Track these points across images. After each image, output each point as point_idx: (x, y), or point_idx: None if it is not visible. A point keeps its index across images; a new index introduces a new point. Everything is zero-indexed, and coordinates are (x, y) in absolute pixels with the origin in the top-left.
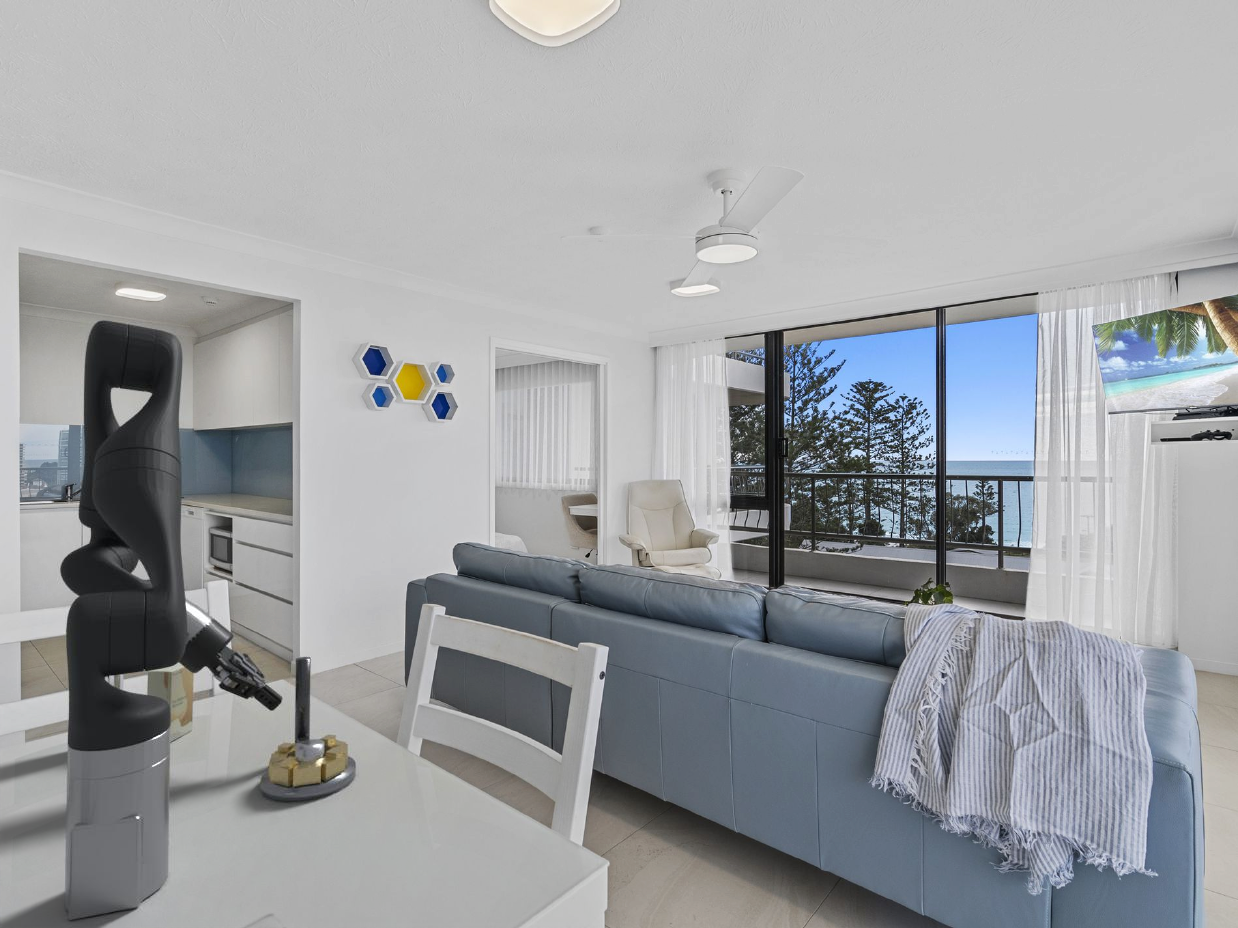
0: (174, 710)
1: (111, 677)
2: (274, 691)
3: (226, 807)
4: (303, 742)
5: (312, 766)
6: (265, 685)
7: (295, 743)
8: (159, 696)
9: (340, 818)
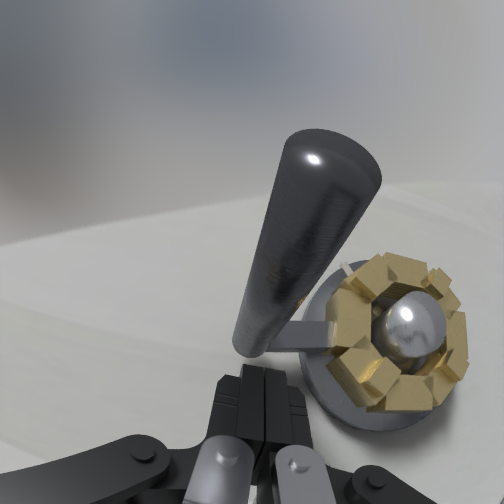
0: None
1: None
2: (248, 395)
3: (417, 473)
4: (409, 333)
5: (463, 326)
6: (265, 441)
7: (344, 355)
8: None
9: (485, 311)
